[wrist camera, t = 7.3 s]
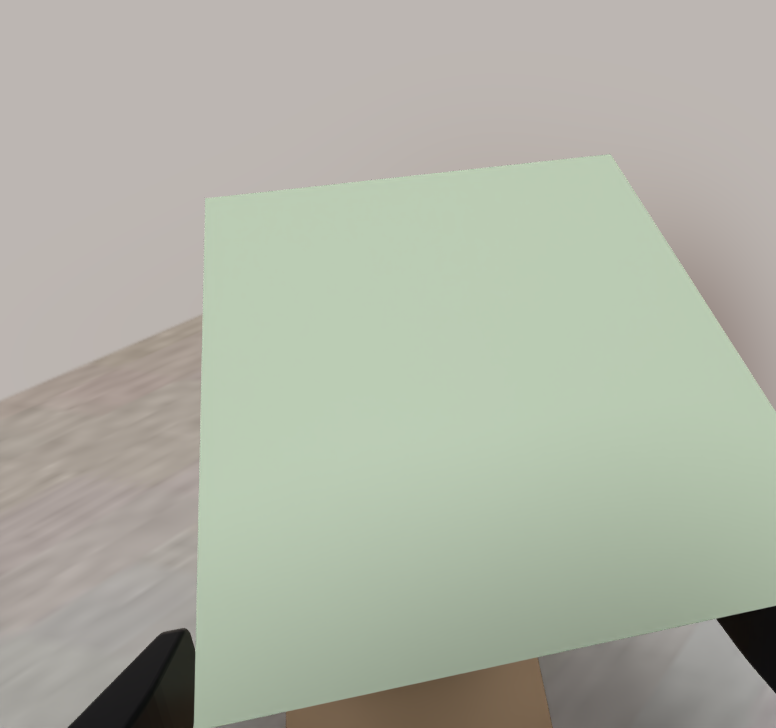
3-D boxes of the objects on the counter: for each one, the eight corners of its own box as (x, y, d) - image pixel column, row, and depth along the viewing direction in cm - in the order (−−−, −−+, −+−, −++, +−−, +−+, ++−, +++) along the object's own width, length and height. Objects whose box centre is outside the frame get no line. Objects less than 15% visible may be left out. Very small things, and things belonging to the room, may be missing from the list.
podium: (535, 747, 15) (560, 765, 13) (298, 776, 15) (285, 800, 13) (481, 472, 20) (494, 452, 17) (299, 488, 19) (289, 469, 17)
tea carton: (514, 623, 15) (884, 582, 4) (337, 660, 14) (192, 731, 3) (468, 455, 17) (610, 154, 7) (318, 480, 17) (204, 198, 6)
